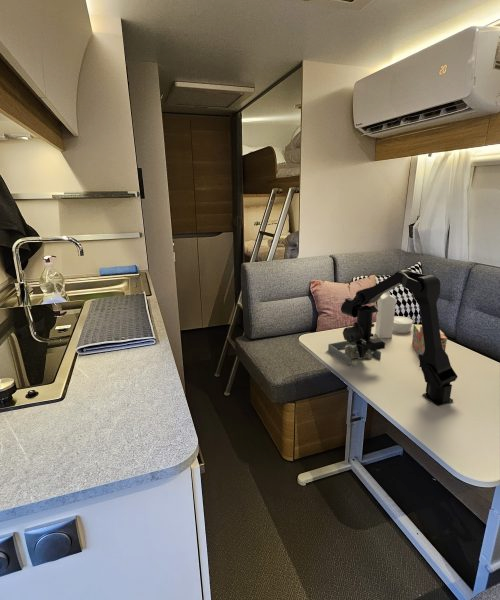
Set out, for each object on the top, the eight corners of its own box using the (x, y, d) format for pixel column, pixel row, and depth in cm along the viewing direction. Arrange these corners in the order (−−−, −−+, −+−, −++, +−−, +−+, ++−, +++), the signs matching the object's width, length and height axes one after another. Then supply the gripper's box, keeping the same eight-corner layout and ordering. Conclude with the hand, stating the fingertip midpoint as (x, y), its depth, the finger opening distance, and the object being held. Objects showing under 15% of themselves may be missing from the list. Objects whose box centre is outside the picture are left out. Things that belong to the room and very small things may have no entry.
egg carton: (346, 359, 140) (347, 350, 139) (343, 351, 147) (344, 342, 146) (373, 359, 139) (374, 350, 138) (369, 351, 146) (369, 342, 145)
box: (380, 358, 139) (381, 352, 138) (349, 365, 135) (349, 358, 134) (357, 344, 153) (357, 338, 152) (328, 350, 148) (328, 344, 147)
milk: (387, 333, 165) (392, 288, 159) (392, 338, 159) (397, 292, 153) (374, 333, 165) (378, 288, 159) (378, 338, 159) (383, 292, 153)
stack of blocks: (411, 343, 153) (414, 317, 149) (426, 344, 152) (430, 318, 148) (425, 366, 133) (429, 336, 129) (443, 367, 132) (447, 337, 128)
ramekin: (382, 330, 169) (383, 319, 168) (393, 324, 176) (394, 314, 175) (405, 336, 161) (406, 325, 160) (415, 329, 168) (417, 319, 167)
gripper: (333, 316, 140) (331, 351, 144) (362, 331, 123) (359, 371, 127) (356, 312, 143) (353, 347, 148) (387, 327, 126) (383, 366, 131)
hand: (361, 357), depth 138 cm, fingers closed
